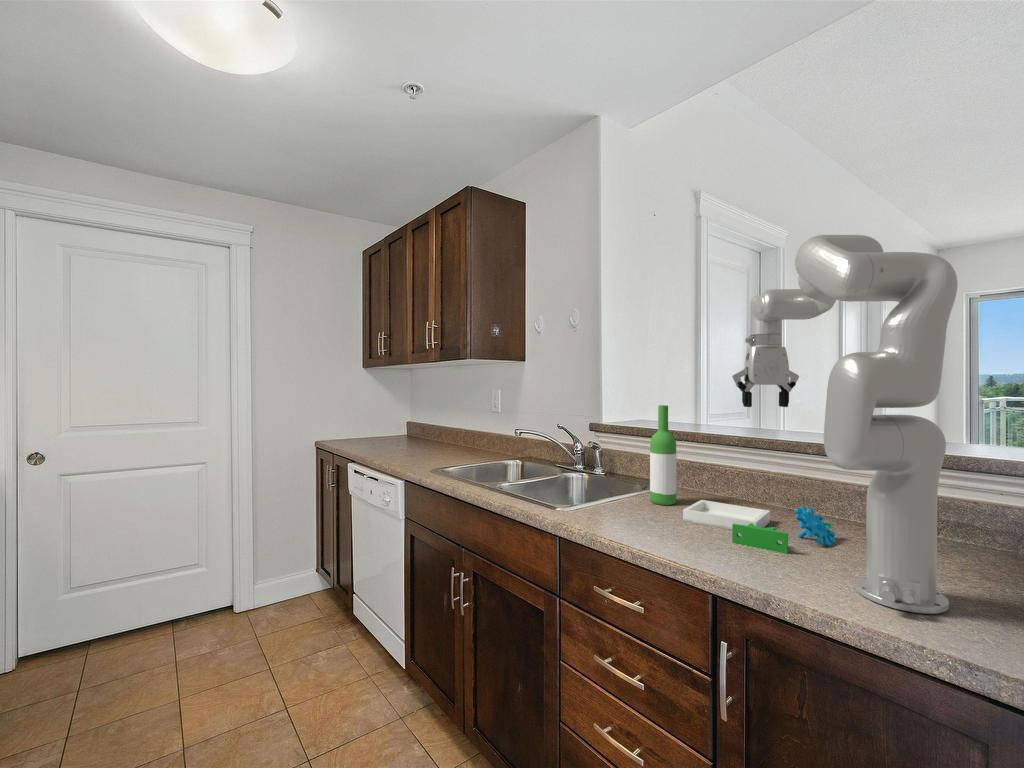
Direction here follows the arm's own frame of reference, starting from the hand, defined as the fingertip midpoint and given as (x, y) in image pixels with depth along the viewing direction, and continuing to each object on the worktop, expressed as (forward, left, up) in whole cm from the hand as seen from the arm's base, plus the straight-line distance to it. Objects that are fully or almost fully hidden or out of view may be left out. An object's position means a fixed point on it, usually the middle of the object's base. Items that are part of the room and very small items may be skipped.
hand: (765, 406), depth 128 cm
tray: (-6, +8, -31) cm, 32 cm away
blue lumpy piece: (-9, -13, -31) cm, 35 cm away
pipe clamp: (-21, -4, -31) cm, 38 cm away
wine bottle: (+2, +29, -31) cm, 42 cm away
